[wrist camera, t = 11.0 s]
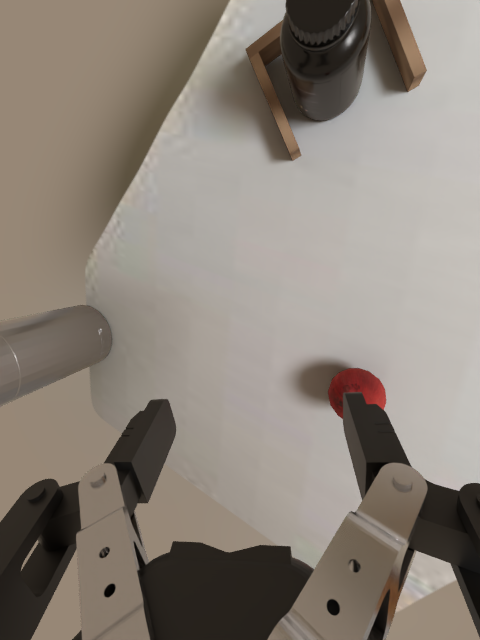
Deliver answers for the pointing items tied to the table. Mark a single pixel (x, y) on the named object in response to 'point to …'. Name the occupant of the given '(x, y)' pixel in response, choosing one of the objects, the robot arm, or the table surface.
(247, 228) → the table surface
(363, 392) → the onion
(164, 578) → the robot arm
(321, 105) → the supplement bottle
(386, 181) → the table surface
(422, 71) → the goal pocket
